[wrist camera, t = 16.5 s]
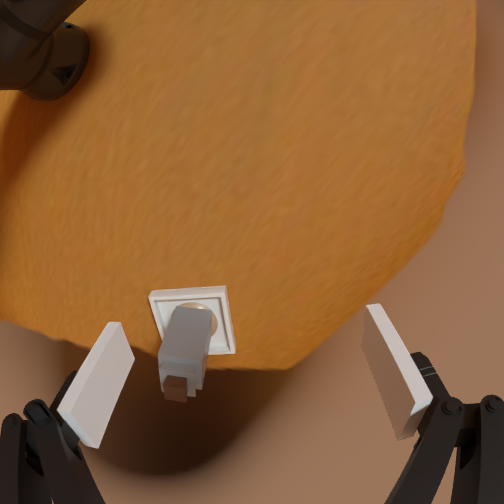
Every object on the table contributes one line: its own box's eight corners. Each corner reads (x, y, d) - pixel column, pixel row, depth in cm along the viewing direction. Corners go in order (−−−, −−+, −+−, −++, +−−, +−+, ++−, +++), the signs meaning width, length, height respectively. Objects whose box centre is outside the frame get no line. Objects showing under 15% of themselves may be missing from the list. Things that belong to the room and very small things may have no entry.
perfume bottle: (176, 305, 54) (149, 375, 38) (212, 310, 55) (197, 382, 38) (177, 334, 57) (154, 403, 40) (210, 338, 57) (198, 410, 41)
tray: (169, 347, 60) (167, 355, 57) (152, 290, 54) (148, 297, 52) (235, 345, 59) (235, 353, 57) (225, 285, 54) (224, 292, 51)
